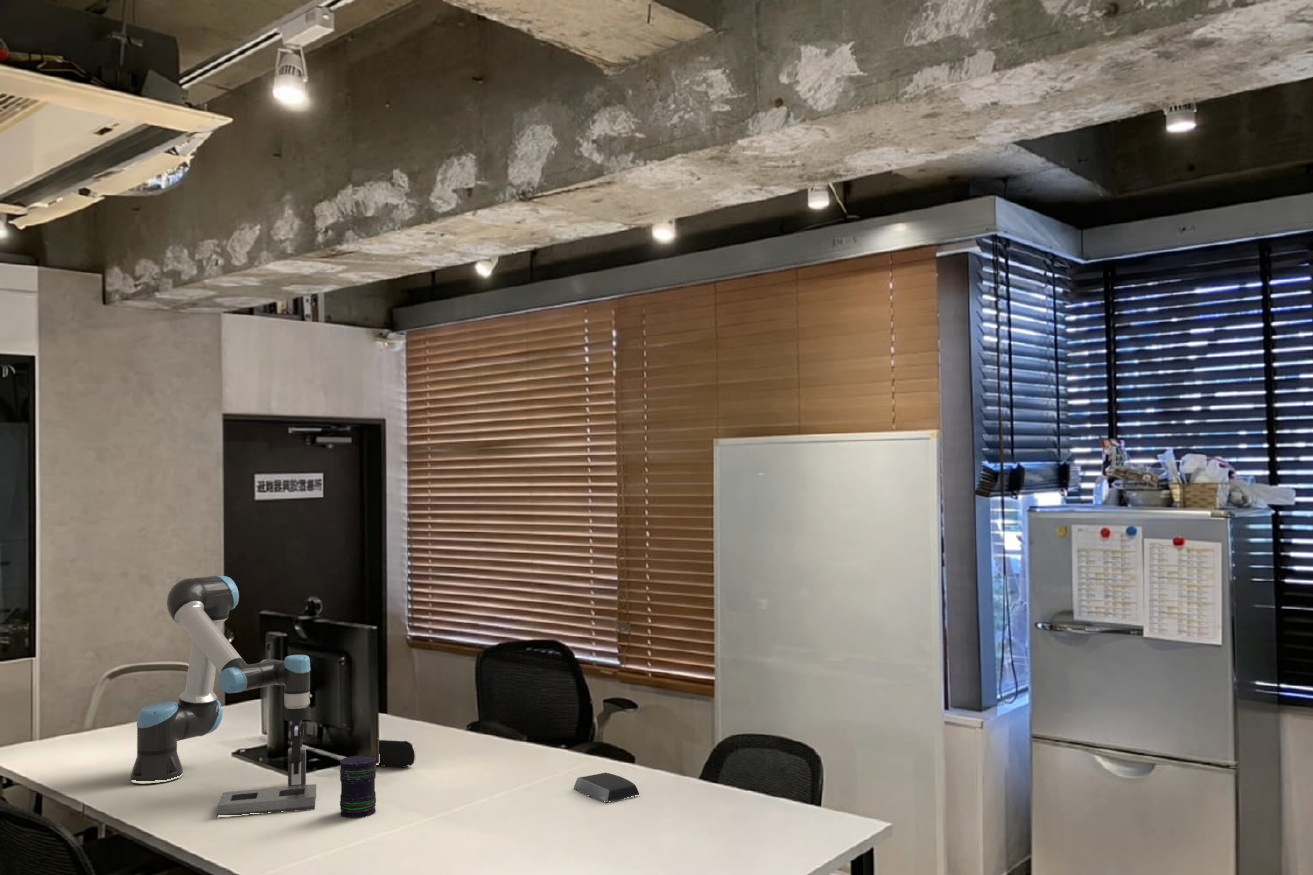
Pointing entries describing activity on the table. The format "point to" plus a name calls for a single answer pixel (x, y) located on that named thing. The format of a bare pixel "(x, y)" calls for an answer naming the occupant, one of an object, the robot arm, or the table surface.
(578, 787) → the external hard drive
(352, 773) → the storage jar
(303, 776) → the plug
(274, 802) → the socket board
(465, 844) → the table surface
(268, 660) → the robot arm
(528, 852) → the table surface
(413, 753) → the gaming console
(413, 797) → the table surface
